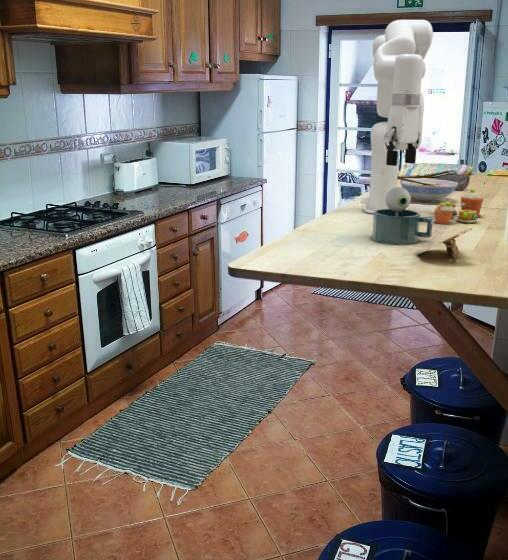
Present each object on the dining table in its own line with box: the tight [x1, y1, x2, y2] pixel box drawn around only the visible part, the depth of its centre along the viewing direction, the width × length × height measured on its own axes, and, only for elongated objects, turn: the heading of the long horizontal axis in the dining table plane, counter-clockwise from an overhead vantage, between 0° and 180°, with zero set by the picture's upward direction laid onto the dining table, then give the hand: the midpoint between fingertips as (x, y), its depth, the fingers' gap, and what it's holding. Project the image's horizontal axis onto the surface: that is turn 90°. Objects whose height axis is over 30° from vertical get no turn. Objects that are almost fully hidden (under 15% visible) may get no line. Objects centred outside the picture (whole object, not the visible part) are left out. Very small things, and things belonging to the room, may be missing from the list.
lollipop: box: [385, 186, 412, 216], centre depth 184 cm, size 7×7×15 cm
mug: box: [371, 209, 434, 246], centre depth 185 cm, size 17×13×8 cm
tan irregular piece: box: [420, 227, 473, 263], centre depth 165 cm, size 18×14×8 cm
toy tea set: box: [434, 188, 484, 225], centre depth 218 cm, size 26×16×10 cm, turn 158°
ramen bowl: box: [397, 176, 458, 203], centre depth 255 cm, size 25×23×8 cm
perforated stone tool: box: [436, 174, 471, 191], centre depth 286 cm, size 15×5×7 cm, turn 70°
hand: (400, 164), depth 180 cm, fingers open, 9 cm apart
